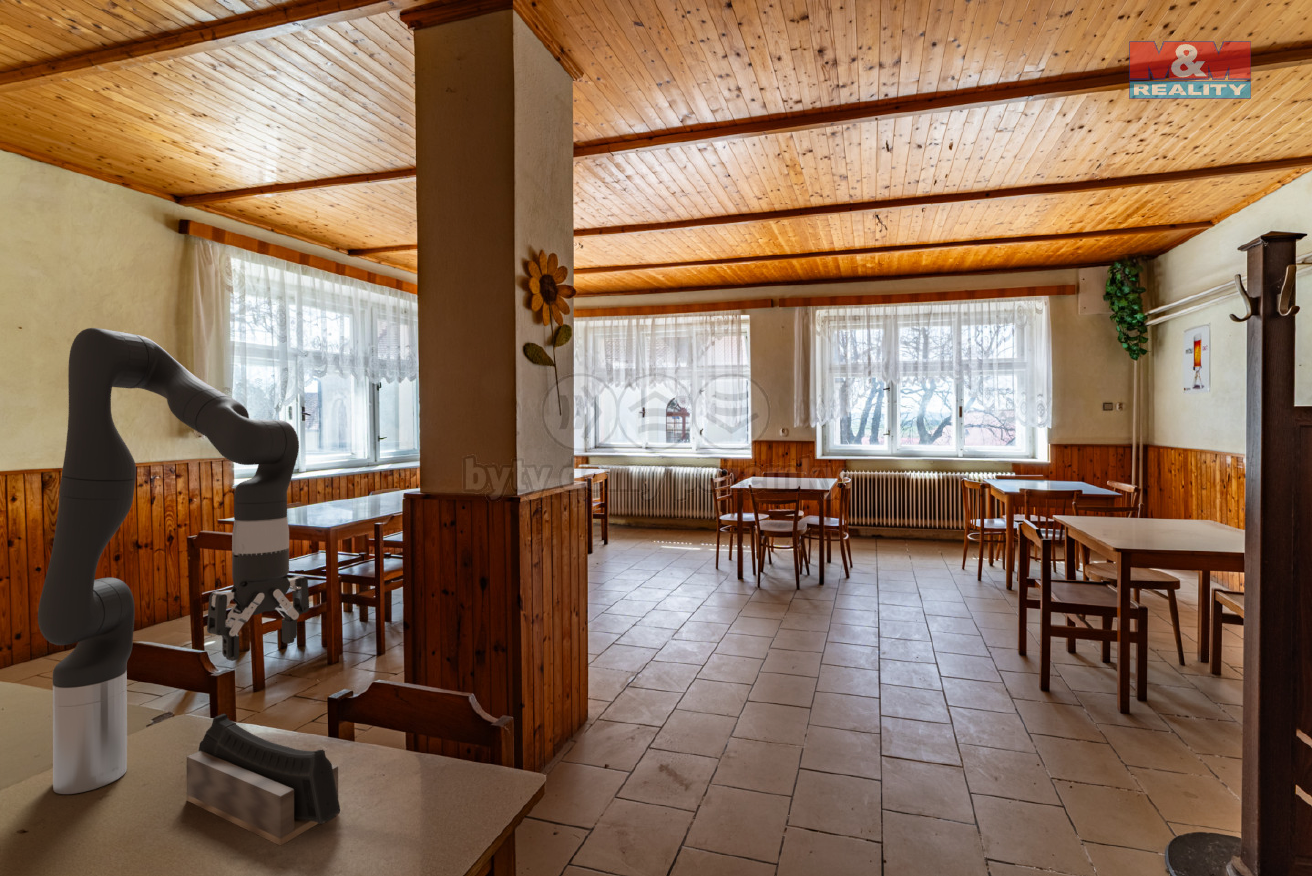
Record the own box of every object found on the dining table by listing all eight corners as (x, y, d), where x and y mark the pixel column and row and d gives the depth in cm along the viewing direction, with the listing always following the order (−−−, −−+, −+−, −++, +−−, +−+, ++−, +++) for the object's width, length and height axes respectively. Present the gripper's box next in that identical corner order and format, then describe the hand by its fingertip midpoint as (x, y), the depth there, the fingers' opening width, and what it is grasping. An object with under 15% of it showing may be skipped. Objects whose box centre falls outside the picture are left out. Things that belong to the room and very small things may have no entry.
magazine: (352, 763, 91) (231, 671, 103) (332, 774, 88) (210, 678, 100) (329, 865, 93) (213, 763, 106) (309, 879, 90) (192, 773, 103)
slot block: (186, 800, 99) (186, 756, 99) (245, 772, 107) (245, 732, 107) (280, 845, 88) (280, 796, 88) (338, 811, 96) (338, 766, 96)
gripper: (290, 538, 106) (290, 634, 106) (197, 552, 93) (197, 661, 93) (319, 542, 102) (319, 641, 102) (226, 557, 90) (226, 670, 90)
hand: (261, 650), depth 98 cm, fingers open, 8 cm apart
